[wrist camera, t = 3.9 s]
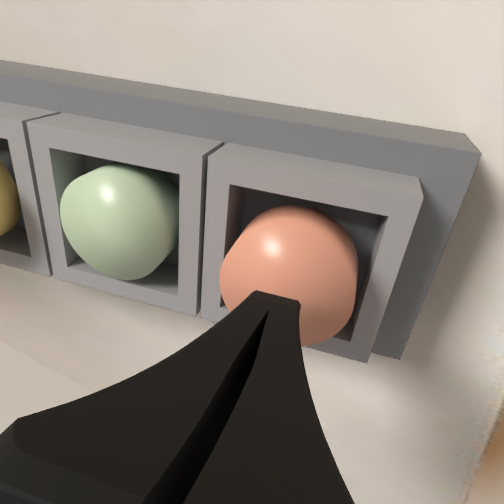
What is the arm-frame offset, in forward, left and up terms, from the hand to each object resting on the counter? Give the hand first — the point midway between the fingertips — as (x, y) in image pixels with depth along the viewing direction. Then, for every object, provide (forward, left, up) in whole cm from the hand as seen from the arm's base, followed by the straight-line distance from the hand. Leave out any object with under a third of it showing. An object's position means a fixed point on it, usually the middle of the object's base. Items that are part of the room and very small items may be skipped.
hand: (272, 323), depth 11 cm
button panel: (+3, +7, -8) cm, 11 cm away
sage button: (+3, +6, -5) cm, 8 cm away
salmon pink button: (0, 0, -4) cm, 4 cm away
